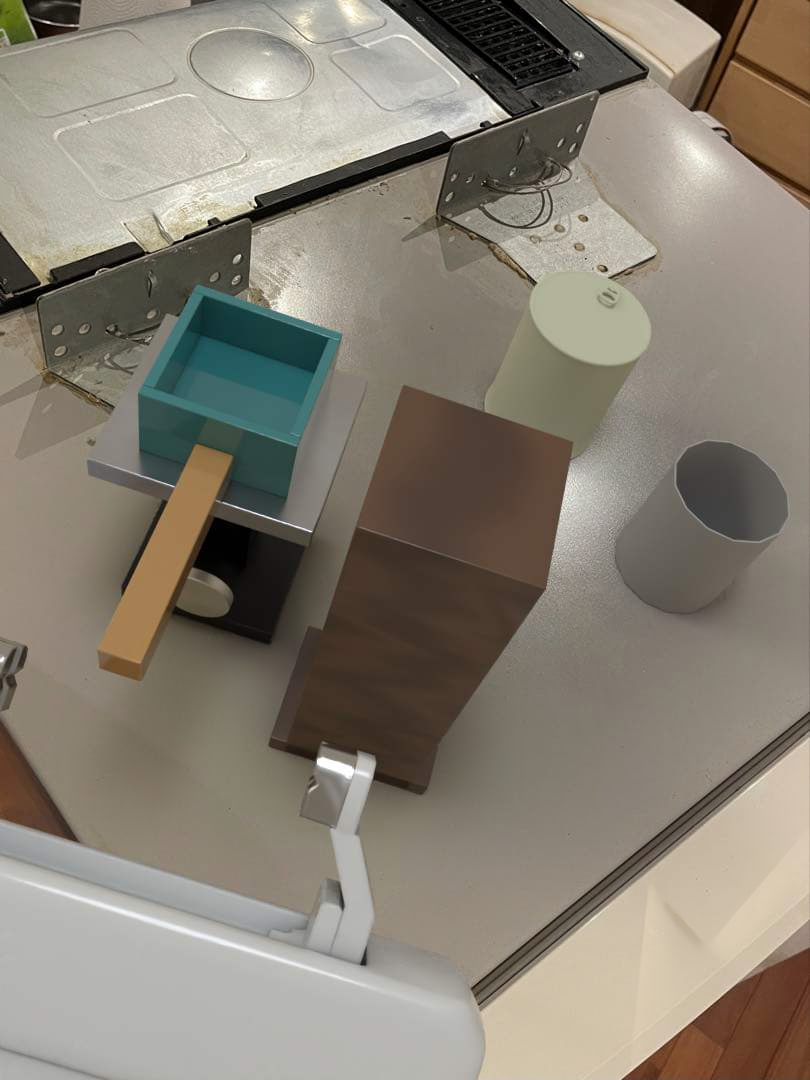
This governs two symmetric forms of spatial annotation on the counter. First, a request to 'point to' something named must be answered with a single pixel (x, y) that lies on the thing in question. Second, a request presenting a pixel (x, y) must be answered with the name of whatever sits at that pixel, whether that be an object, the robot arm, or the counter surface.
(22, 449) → the counter surface
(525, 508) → the plinth
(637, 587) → the cup
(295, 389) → the teal handled box
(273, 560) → the scale
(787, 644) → the counter surface
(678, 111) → the counter surface
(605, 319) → the can
